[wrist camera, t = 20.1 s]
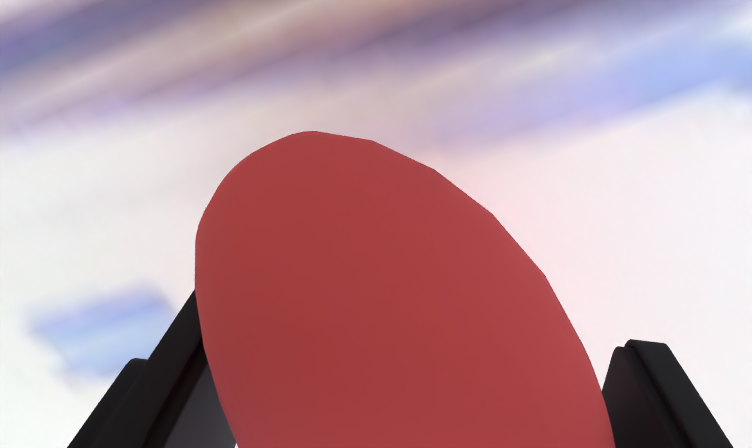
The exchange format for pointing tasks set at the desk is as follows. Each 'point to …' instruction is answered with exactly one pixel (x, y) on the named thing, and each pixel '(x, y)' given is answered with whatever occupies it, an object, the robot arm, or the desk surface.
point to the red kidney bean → (380, 310)
